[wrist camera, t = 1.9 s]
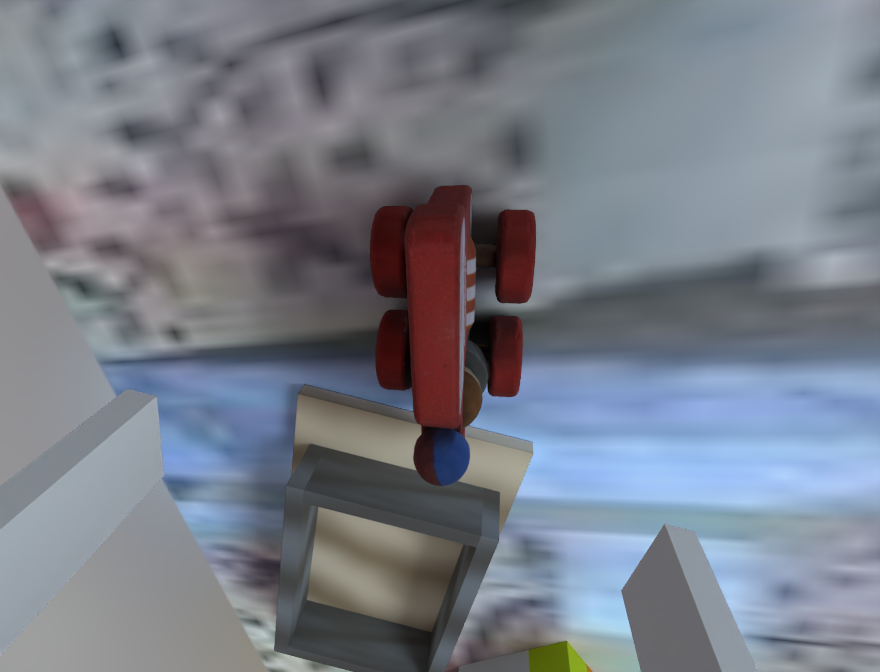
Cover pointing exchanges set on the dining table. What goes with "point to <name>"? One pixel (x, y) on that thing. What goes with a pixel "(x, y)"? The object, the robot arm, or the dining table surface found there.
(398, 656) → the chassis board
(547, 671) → the puzzle toy
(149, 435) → the robot arm
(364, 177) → the dining table surface
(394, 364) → the toy fire truck
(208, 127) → the dining table surface
